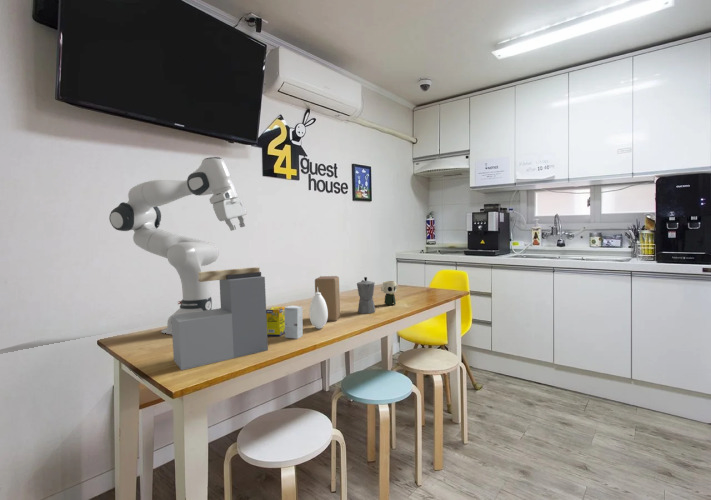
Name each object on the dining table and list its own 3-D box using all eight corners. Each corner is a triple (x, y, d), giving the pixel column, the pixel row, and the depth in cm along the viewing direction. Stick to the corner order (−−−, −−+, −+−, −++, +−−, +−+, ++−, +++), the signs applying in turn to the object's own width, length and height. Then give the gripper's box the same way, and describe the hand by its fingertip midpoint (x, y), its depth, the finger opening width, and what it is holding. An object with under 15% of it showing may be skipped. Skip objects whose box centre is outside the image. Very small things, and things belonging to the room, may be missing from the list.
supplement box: (280, 336, 143) (279, 309, 142) (266, 336, 144) (265, 309, 144) (286, 332, 149) (284, 306, 148) (272, 332, 150) (271, 306, 149)
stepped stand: (181, 370, 109) (176, 280, 108) (173, 360, 119) (169, 277, 118) (267, 350, 126) (264, 272, 125) (255, 342, 136) (251, 270, 135)
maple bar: (201, 281, 117) (200, 272, 116) (198, 281, 119) (198, 272, 119) (259, 275, 129) (259, 267, 128) (256, 275, 131) (256, 267, 131)
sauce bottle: (330, 326, 157) (329, 285, 156) (325, 330, 149) (323, 288, 149) (313, 325, 159) (312, 285, 158) (307, 330, 151) (305, 288, 150)
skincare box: (284, 337, 141) (283, 307, 140) (290, 334, 145) (289, 305, 145) (298, 339, 139) (296, 308, 138) (303, 335, 143) (302, 305, 142)
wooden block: (320, 316, 176) (319, 276, 176) (340, 316, 175) (339, 275, 174) (315, 321, 167) (314, 278, 166) (336, 321, 165) (335, 278, 164)
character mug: (385, 306, 194) (384, 283, 194) (378, 304, 201) (377, 281, 200) (401, 304, 199) (401, 281, 199) (394, 302, 206) (394, 280, 205)
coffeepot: (379, 314, 178) (377, 278, 177) (360, 315, 176) (359, 279, 175) (371, 308, 193) (370, 274, 192) (354, 309, 191) (353, 275, 190)
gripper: (230, 197, 156) (241, 227, 158) (206, 200, 136) (220, 234, 138) (243, 192, 155) (254, 223, 157) (221, 194, 135) (234, 229, 137)
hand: (238, 228), depth 147 cm, fingers open, 8 cm apart
